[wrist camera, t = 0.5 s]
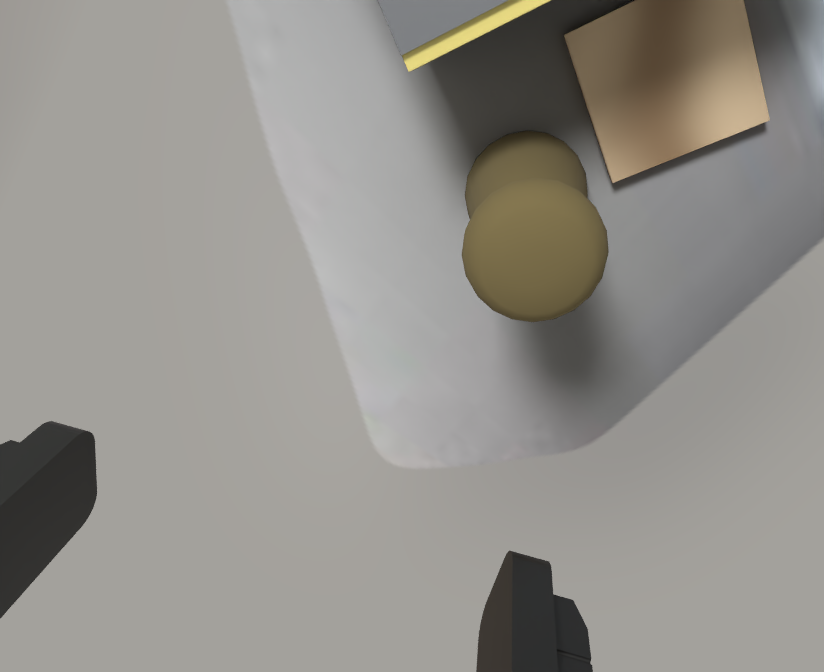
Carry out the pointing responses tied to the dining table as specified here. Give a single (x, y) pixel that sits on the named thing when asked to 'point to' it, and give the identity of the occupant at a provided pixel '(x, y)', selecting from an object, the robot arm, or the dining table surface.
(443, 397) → the dining table surface
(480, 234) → the olive brown knobbed peg
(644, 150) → the cork coaster
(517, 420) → the dining table surface
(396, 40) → the box
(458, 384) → the dining table surface
